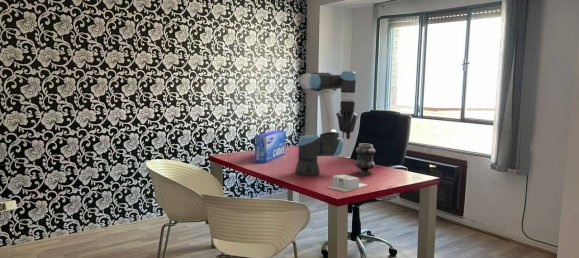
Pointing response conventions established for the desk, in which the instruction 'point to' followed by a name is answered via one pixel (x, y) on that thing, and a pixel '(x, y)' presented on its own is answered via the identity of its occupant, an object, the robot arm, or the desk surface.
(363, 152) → the apothecary jar
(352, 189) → the mat
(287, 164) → the desk surface
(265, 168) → the desk surface
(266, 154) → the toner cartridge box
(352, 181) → the ink box
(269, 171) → the desk surface
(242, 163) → the desk surface
